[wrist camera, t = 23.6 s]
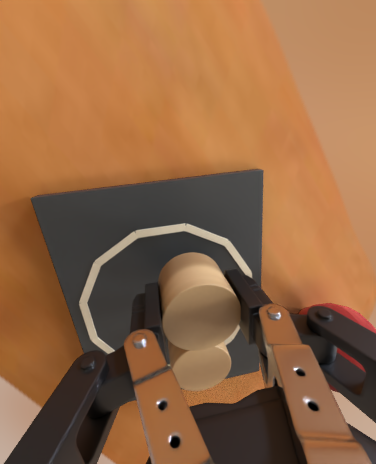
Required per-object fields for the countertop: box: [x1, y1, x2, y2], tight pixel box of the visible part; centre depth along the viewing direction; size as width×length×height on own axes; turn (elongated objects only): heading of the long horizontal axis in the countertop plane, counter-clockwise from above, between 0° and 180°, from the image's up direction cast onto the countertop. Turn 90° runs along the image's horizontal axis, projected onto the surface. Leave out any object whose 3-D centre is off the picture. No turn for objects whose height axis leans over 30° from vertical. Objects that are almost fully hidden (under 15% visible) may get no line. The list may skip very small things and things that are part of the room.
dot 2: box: [167, 339, 231, 391], centre depth 16 cm, size 4×4×4 cm
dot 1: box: [158, 252, 241, 351], centre depth 13 cm, size 4×4×4 cm
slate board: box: [31, 169, 263, 401], centre depth 17 cm, size 14×18×1 cm
